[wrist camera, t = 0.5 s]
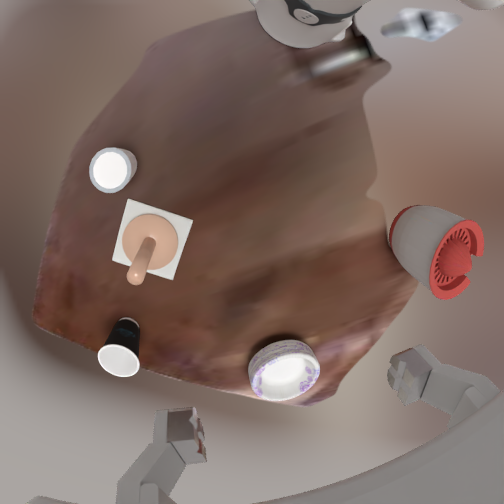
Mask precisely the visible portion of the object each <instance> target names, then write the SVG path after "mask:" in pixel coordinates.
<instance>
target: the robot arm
mask: <svg viewBox="0 0 504 504" xmlns="http://www.w3.org/2000/svg"><path fill="white" fill-rule="evenodd" d="M249 1H250V2H251V3H252V4H253V6H254V7H255V9H256V12H257V16H258V19H259V22H260V24H261V25H262V27H263V28H264V30H265V31H266V32H267V33H268V34H269V35H270V36H272V37H273V38H274V39H276V40H277V41H279V42H281V43H283V44H285V45H288V46H292V47H296V48H312V47H316V46H319V45H321V44H323V43H326V42H340V41H342V40H343V39H344V37H345V32H346V28H348V27H349V26H350V25H351V24H352V21H351V20H352V16H353V15H354V14H355V13H357V11H358V10H359V9H360V8H361V7H362V5H363V4H365V3H367V2H368V1H370V0H249ZM457 1H459V2H461V3H463V4H464V5H466V6H467V7H469V8H472V9H476V10H491V9H496V8H499V7H501V6H503V5H504V0H457ZM390 363H391V367H390V368H389V369H388V373H387V377H388V382H389V384H390V386H391V388H392V389H394V390H396V391H398V397H399V399H400V400H401V401H402V403H403V404H404V406H406V405H408V404H410V403H412V402H415V401H417V400H419V399H421V400H422V401H424V402H426V403H428V404H430V405H432V406H434V407H436V408H438V409H440V410H442V411H444V412H446V413H448V414H450V415H452V417H451V419H450V420H449V422H448V425H447V427H448V428H449V430H447V431H445V432H444V433H442V434H441V435H439V436H437V437H435V438H434V439H432V440H430V441H428V442H426V443H425V444H423V445H421V446H419V447H417V448H415V449H414V450H412V451H410V452H408V453H406V454H404V455H402V456H400V457H398V458H395V459H393V460H391V461H389V462H387V463H385V464H382V465H380V466H378V467H375V468H373V469H371V470H368V471H366V472H363V473H361V474H358V475H356V476H353V477H351V478H348V479H345V480H342V481H339V482H336V483H333V484H330V485H327V486H324V487H321V488H317V489H314V490H310V491H307V492H303V493H300V494H296V495H292V496H288V497H283V498H279V499H274V500H269V501H265V502H259V503H253V504H504V390H503V391H502V392H501V391H500V390H499V389H498V388H497V387H496V386H495V385H494V384H493V383H492V382H491V381H490V380H489V379H488V378H487V377H486V376H484V375H480V374H477V373H474V372H470V371H467V370H464V369H460V368H457V367H454V366H450V365H447V364H443V365H442V364H441V363H440V362H439V361H438V360H437V359H436V358H435V357H434V356H433V355H432V353H431V352H430V351H429V350H428V349H427V348H426V347H425V346H424V345H422V344H419V345H417V346H415V347H412V348H409V349H407V350H405V351H402V352H400V353H398V354H395V355H393V356H392V357H391V359H390ZM153 434H154V435H153V443H152V444H149V445H148V446H147V447H146V449H145V450H144V451H143V452H142V453H141V455H140V456H139V457H138V459H137V460H136V461H135V462H134V463H133V464H132V465H131V467H130V468H129V469H128V470H127V471H126V473H125V474H124V475H123V476H122V478H121V479H120V480H119V481H118V484H117V495H116V504H176V503H175V502H174V501H173V500H172V499H171V498H170V497H169V495H170V492H171V491H172V489H173V488H174V486H175V484H176V483H177V481H178V479H179V477H180V476H181V474H182V472H183V470H184V469H185V467H186V465H187V464H195V463H203V462H207V460H206V449H205V447H204V445H203V441H204V440H205V437H204V431H203V426H202V423H201V420H200V419H199V418H198V417H197V412H196V409H195V407H190V408H179V409H167V410H157V411H156V412H155V419H154V433H153ZM26 504H76V503H71V502H66V501H60V500H57V499H52V498H48V497H43V496H37V497H34V498H33V499H31V500H30V501H29V502H27V503H26Z"/></svg>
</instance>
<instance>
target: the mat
mask: <svg viewBox="0 0 504 504" xmlns="http://www.w3.org/2000/svg"><path fill="white" fill-rule="evenodd" d="M143 214H157V215H160V216H162V217H164V218H166V219H167V220H168V221H169V222H170V223H171V224H172V225H173V226H174V228H175V230H176V232H177V236H178V248H177V252H176V254H175V257H174V258H173V260H172V261H171V262H170V263H169V264H168V265H166V266H164V267H162V268H160V269H156V270H147V271H146V272H149V273H152V274H155V275H158V276H161V277H164V278H168V279H171V280H173V277H174V274H175V271H176V268H177V265H178V262H179V259H180V256H181V253H182V251H183V248H184V245H185V242H186V239H187V236H188V234H189V231H190V228H191V225H192V222H193V220H191V219H189V218H186V217H183V216H180V215H177V214H174V213H171V212H168V211H165V210H162V209H159V208H156V207H153V206H150V205H147V204H144V203H141V202H138V201H135V200H132V199H128V201H127V204H126V208H125V211H124V215H123V219H122V222H121V226H120V230H119V234H118V238H117V242H116V246H115V250H114V255H113V259H112V260H113V261H116V262H119V263H122V264H125V265H127V266H131V264H132V262H131V261H130V260H129V259H128V258H127V256H126V255H125V253H124V250H123V246H122V236H123V233H124V230H125V228H126V227H127V225H128V224H129V223H130V222H131V221H132V220H133V219H134V218H136V217H137V216H139V215H143Z"/></svg>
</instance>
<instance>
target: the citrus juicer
mask: <svg viewBox="0 0 504 504" xmlns="http://www.w3.org/2000/svg"><path fill="white" fill-rule="evenodd" d="M389 242H390V246H391V248H392V251H393V253H394V255H395V257H396V258H397V259H398V261H399V262H400V264H401V265H402V266H403V268H404V269H405V270H406V271H407V272H409V273H410V274H411V275H412V276H413V277H414V278H416V279H417V280H418V281H419V282H421V283H422V284H423V285H424V286H426V287H427V288H428V289H429V290H431V291H432V293H433V294H434V295H435V296H436V297H437V298H439V299H445V300H447V299H451V298H453V297H455V296H457V295H458V294H460V293H461V292H462V291H463V290H464V289H465V288H466V287H467V286H468V285H469V284H470V280H469V279H468V278H467V277H466V276H465V275H464V274H465V273H467V272H469V271H470V270H471V268H472V261H471V256H470V255H472V254H473V255H475V256H482V255H483V250H484V239H483V233H482V230H481V228H480V227H479V225H478V224H477V223H476V222H474V221H472V220H466V219H464V218H462V217H460V216H457V215H455V214H453V213H451V212H448V211H446V210H443V209H440V208H437V207H434V206H425V205H416V206H410V207H407V208H405V209H403V210H402V211H401V212H400V213H399V214H398V215H397V216H396V217H395V219H394V221H393V223H392V225H391V228H390V233H389Z"/></svg>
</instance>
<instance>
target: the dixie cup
mask: <svg viewBox="0 0 504 504" xmlns="http://www.w3.org/2000/svg"><path fill="white" fill-rule="evenodd" d="M139 338H140V329H139V325H138V323H137V322H136V321H135V320H133V319H131V318H127V317H125V318H122V319H120V320H119V321H118V322H117V323H116V324H115V326H114V328H113V330H112V331H111V333H110V335H109V337H108V339H107V340H106V342H105V344H104V346H103V347H102V348H101V349H100V350H99V352H98V360H99V363H100V364H101V366H102V367H103V368H104V369H105V370H106V371H108V372H109V373H111V374H113V375H116V376H120V377H127V376H131V375H134V374H135V373H136V372H137V371H138V369H139V360H138V356H139Z"/></svg>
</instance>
